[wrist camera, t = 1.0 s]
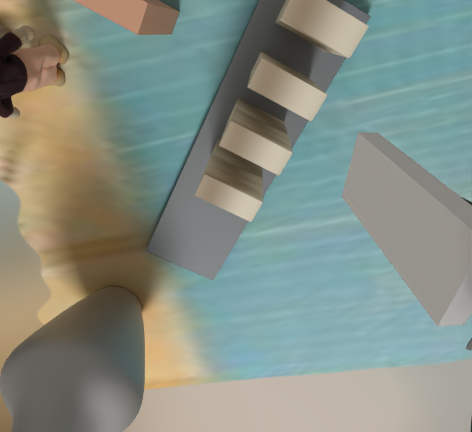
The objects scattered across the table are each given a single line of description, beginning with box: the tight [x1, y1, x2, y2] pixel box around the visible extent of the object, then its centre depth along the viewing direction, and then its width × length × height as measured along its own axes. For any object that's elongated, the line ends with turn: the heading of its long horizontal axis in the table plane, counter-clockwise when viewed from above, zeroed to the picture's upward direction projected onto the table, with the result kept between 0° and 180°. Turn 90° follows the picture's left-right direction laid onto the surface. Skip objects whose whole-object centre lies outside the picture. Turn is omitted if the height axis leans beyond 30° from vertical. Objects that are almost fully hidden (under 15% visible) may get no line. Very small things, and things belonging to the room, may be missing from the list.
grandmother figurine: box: [0, 26, 69, 119], centre depth 29 cm, size 8×4×13 cm, turn 167°
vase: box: [0, 286, 145, 432], centre depth 37 cm, size 14×14×25 cm
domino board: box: [146, 0, 370, 280], centre depth 36 cm, size 9×32×1 cm, turn 154°
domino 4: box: [219, 98, 293, 176], centre depth 30 cm, size 5×2×10 cm, turn 64°
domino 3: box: [247, 51, 327, 122], centre depth 28 cm, size 5×2×10 cm, turn 64°
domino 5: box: [195, 139, 263, 222], centre depth 32 cm, size 5×2×10 cm, turn 64°
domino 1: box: [74, 0, 179, 35], centre depth 27 cm, size 5×2×10 cm, turn 64°
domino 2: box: [275, 0, 369, 58], centre depth 26 cm, size 5×2×10 cm, turn 64°
